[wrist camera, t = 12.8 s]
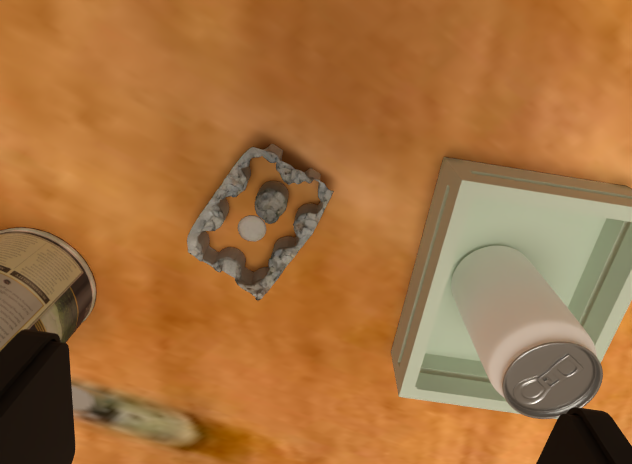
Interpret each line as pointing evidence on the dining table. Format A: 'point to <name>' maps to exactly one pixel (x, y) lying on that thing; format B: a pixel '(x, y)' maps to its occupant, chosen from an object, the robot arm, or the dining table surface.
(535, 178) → the tray
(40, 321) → the coffee can
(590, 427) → the robot arm
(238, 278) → the egg carton
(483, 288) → the can
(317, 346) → the dining table surface
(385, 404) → the dining table surface
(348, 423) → the dining table surface
